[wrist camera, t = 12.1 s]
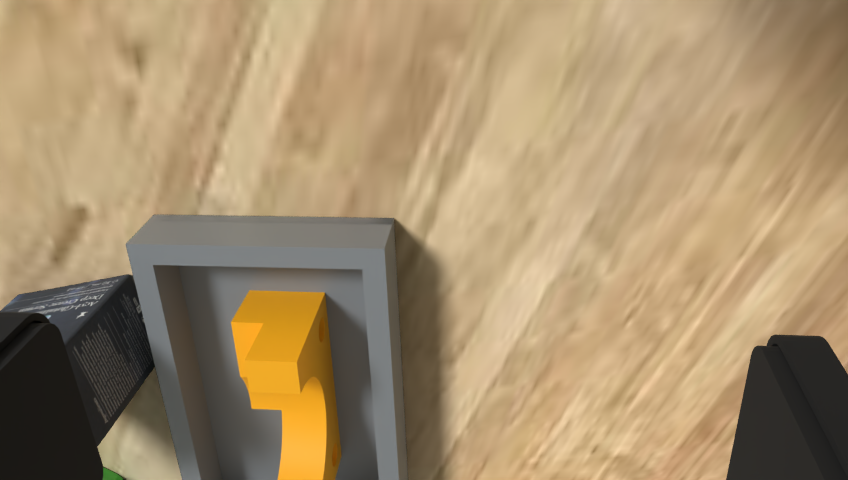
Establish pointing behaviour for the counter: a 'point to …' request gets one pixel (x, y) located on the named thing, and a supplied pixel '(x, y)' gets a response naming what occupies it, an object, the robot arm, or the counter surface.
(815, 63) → the counter surface
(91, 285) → the box
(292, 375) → the orange toy block
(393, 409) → the tray
